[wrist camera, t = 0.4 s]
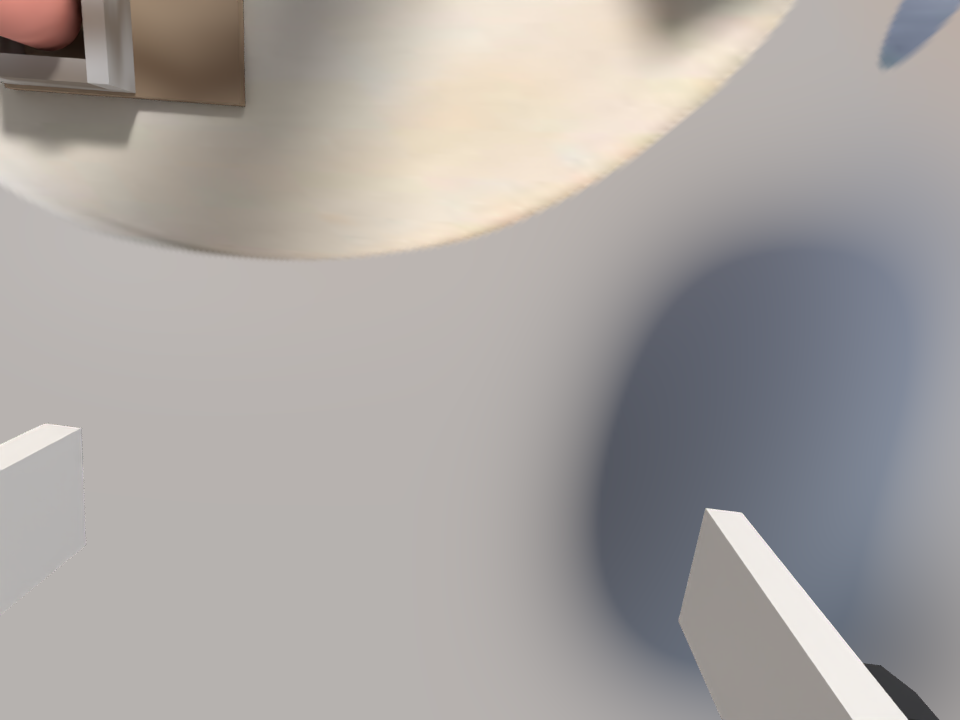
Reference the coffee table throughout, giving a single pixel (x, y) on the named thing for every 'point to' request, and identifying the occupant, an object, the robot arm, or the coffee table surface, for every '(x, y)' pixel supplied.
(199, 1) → the board
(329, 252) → the coffee table surface
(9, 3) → the button
